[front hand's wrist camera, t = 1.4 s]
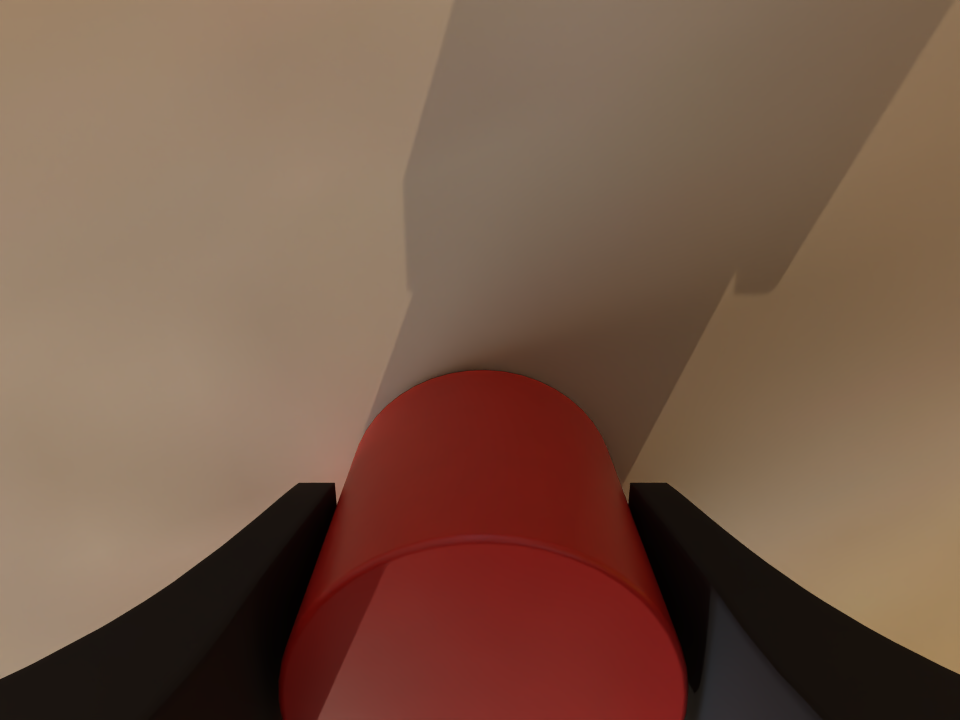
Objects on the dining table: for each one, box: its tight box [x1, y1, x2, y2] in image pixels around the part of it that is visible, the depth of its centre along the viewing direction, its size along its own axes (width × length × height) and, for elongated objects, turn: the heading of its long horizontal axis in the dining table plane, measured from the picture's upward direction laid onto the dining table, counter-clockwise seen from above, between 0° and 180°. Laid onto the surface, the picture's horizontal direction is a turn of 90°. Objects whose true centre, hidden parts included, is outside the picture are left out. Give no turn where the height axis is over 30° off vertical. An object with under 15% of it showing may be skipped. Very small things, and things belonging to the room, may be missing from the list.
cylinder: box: [278, 370, 689, 720], centre depth 10 cm, size 5×5×5 cm
